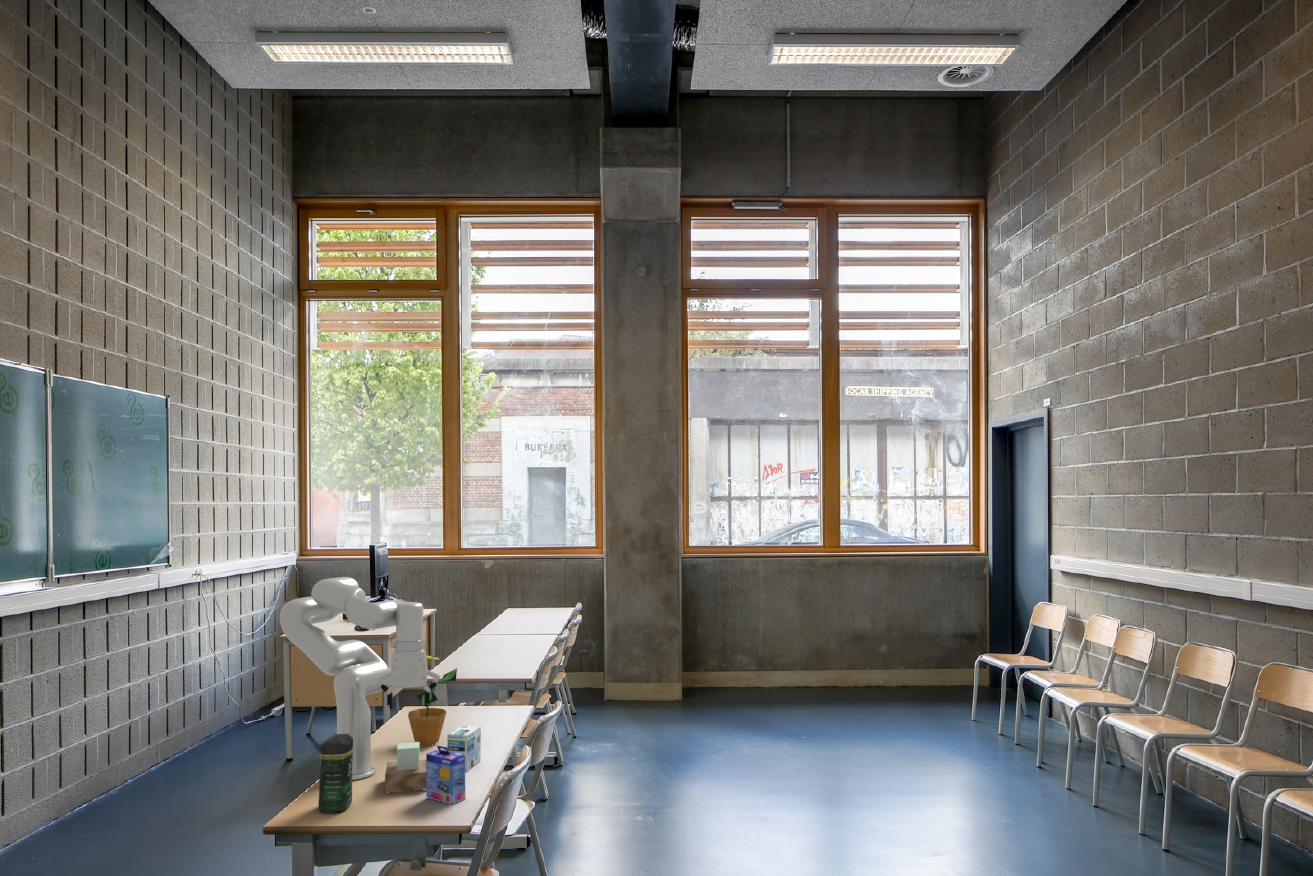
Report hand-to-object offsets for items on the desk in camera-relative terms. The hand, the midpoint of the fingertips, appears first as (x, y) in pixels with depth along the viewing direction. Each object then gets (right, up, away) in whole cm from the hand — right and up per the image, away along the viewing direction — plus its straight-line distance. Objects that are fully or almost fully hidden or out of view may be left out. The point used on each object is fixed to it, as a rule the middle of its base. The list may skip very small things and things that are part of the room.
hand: (408, 706), depth 258 cm
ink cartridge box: (+14, -21, -13) cm, 29 cm away
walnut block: (0, -22, -1) cm, 22 cm away
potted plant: (-5, -24, +41) cm, 48 cm away
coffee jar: (-14, -21, -19) cm, 32 cm away
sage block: (0, -17, -1) cm, 17 cm away
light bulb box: (+13, -23, +16) cm, 31 cm away
